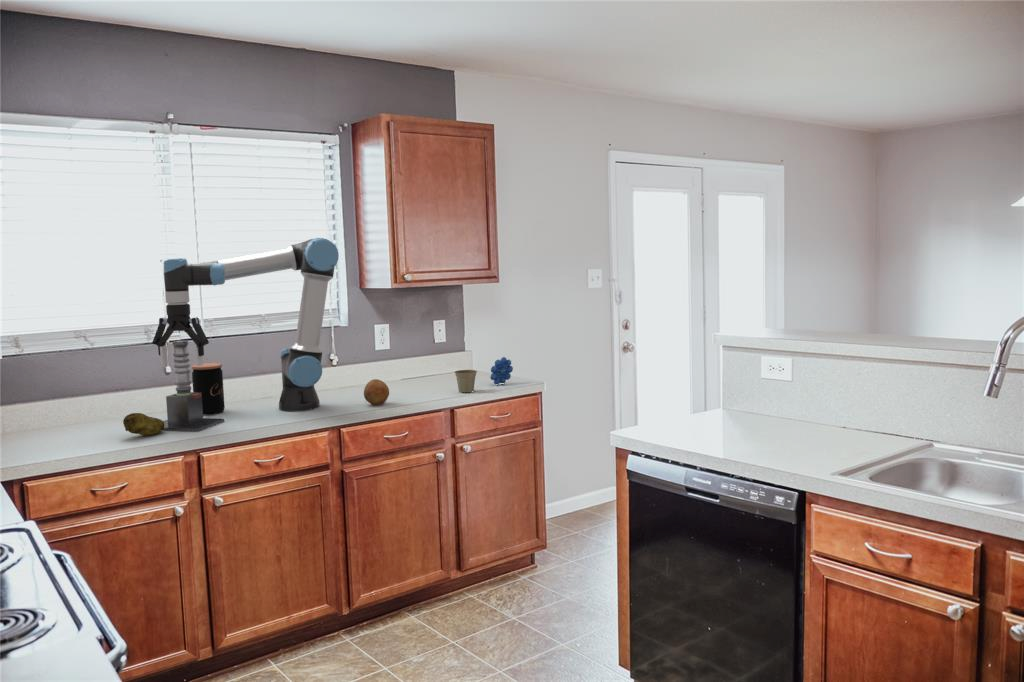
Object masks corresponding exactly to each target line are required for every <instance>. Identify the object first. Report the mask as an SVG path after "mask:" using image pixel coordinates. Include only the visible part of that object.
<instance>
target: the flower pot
mask: <svg viewBox="0 0 1024 682" xmlns="http://www.w3.org/2000/svg"><path fill="white" fill-rule="evenodd" d="M453 373H454V375H455V377H456V381H457V388H458V393H460V392H467V393H468V392H471V393H473V392H472V391H474V392H475V382H476V381H475V380H476V376H477V373H478V370H474V369H460V370H455V371H454V372H453Z"/></svg>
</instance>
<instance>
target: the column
mask: <svg viewBox="0 0 1024 682" xmlns="http://www.w3.org/2000/svg"><path fill="white" fill-rule="evenodd" d="M188 345H189V340H174V341H172V346H173V358H174V359H173V362H174V365H173V368H174V370H175V371H174V374H175V381H176V382H175V386H176V387H175V391H176V393H175V394H176V396H188V395H192V392H193V391H192V386H191V384H192V380H191V377H190V373H191V370H190V367H191V365H190V357H189V356H190V352H189V351H188V350H189V347H188Z"/></svg>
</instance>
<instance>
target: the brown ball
mask: <svg viewBox="0 0 1024 682" xmlns="http://www.w3.org/2000/svg"><path fill="white" fill-rule="evenodd" d="M363 389H364V390H363V397H364V399H365V401H366V402H367V403H368V404H371V405H373V406H376V405H377V406H378V405H383V404H384V403H385V402H387V400H388V398H389V396H390V389H389V386H388V385H387V384H386V382H384V381H383V380H380V379H376V378H374V379H371V380H369V381H368V382H367V383H366V385H365V387H364V388H363Z"/></svg>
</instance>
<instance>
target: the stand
mask: <svg viewBox="0 0 1024 682" xmlns="http://www.w3.org/2000/svg"><path fill="white" fill-rule="evenodd" d="M191 392H192V395H188V396H176V393H172V394H169V395H166V396H165V400H166V415H167V419H165V420H162V421H163V422H164V429H163V430H162V431H163V432H164V431H171V432H192V433H193V432H197V433H198V432H200V431H203V429H204V430H207V429H209V428H211V426H212V427H214V426H217V425H220V424H222V423H224V422H226V420H225V418H213V417H212V418H211V417H207V418H206V417H204V415H203V408H202V393H199V392H193V391H191ZM219 423H220V424H219ZM216 424H217V425H216ZM213 425H214V426H213ZM208 427H209V428H208Z"/></svg>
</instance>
